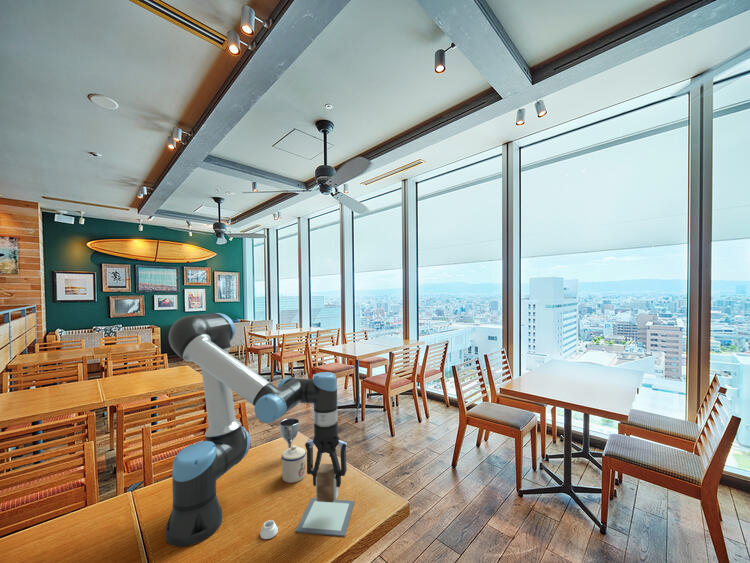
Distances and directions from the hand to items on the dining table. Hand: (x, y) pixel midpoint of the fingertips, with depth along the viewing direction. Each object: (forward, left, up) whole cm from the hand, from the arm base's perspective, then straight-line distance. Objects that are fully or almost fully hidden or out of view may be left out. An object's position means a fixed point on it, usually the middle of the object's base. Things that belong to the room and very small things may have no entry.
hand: (327, 495), depth 101 cm
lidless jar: (-15, -9, -7) cm, 19 cm away
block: (0, 0, 0) cm, 0 cm away
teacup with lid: (-19, +21, -7) cm, 29 cm away
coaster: (0, 0, -6) cm, 6 cm away
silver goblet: (-26, +33, -7) cm, 43 cm away
